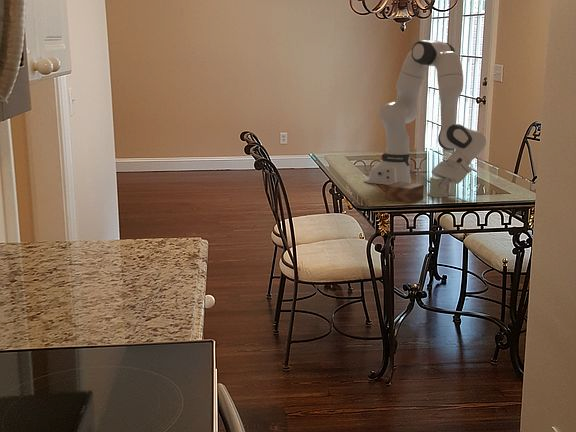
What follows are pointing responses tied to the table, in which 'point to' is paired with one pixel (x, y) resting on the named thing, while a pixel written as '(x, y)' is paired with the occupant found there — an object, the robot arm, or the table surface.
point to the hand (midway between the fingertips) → (436, 185)
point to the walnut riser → (404, 191)
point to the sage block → (437, 187)
